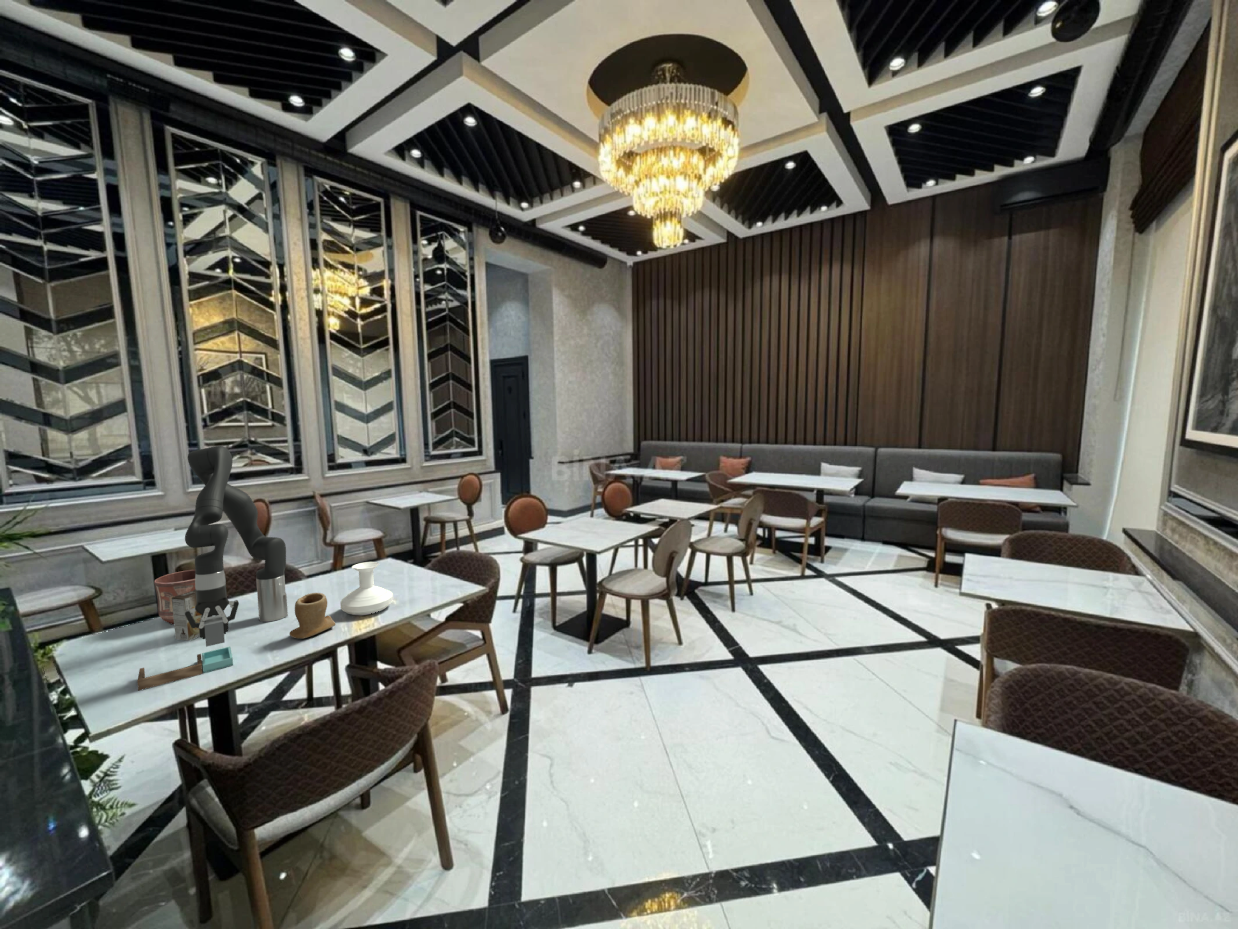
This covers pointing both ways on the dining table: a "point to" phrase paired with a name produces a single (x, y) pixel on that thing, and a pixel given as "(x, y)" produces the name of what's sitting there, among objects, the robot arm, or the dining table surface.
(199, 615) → the coffee box
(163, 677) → the walnut bay
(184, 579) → the pottery
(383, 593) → the white vase
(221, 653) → the teal tray
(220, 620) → the chamfered grey block
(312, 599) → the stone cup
